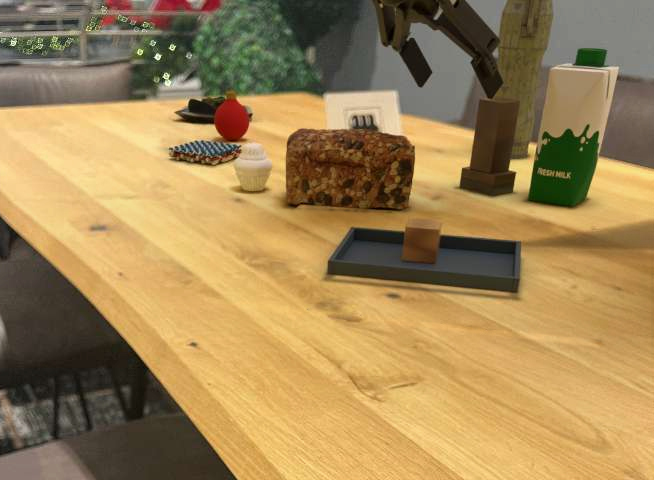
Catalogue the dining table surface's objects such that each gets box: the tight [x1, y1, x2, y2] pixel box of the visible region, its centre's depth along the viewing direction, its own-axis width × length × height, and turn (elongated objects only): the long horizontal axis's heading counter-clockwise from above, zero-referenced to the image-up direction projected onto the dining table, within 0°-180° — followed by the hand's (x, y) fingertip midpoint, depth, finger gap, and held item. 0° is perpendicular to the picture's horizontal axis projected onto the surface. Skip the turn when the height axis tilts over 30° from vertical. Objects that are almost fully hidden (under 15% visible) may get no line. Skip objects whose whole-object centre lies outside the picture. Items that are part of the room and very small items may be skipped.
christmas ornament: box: [213, 84, 250, 141], centre depth 153 cm, size 7×7×10 cm
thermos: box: [494, 0, 554, 160], centre depth 136 cm, size 9×12×35 cm
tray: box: [326, 226, 522, 294], centre depth 91 cm, size 21×14×2 cm
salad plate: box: [173, 95, 254, 125], centre depth 177 cm, size 19×18×5 cm
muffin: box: [233, 141, 273, 192], centre depth 120 cm, size 6×6×7 cm
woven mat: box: [168, 139, 243, 166], centre depth 140 cm, size 10×11×2 cm
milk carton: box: [527, 47, 620, 208], centre depth 113 cm, size 9×9×20 cm
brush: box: [459, 97, 521, 197], centre depth 120 cm, size 7×5×13 cm
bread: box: [285, 127, 416, 210], centre depth 114 cm, size 19×11×10 cm, turn 84°
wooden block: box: [402, 217, 444, 264], centre depth 91 cm, size 4×4×4 cm
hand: (459, 85), depth 110 cm, fingers open, 13 cm apart
